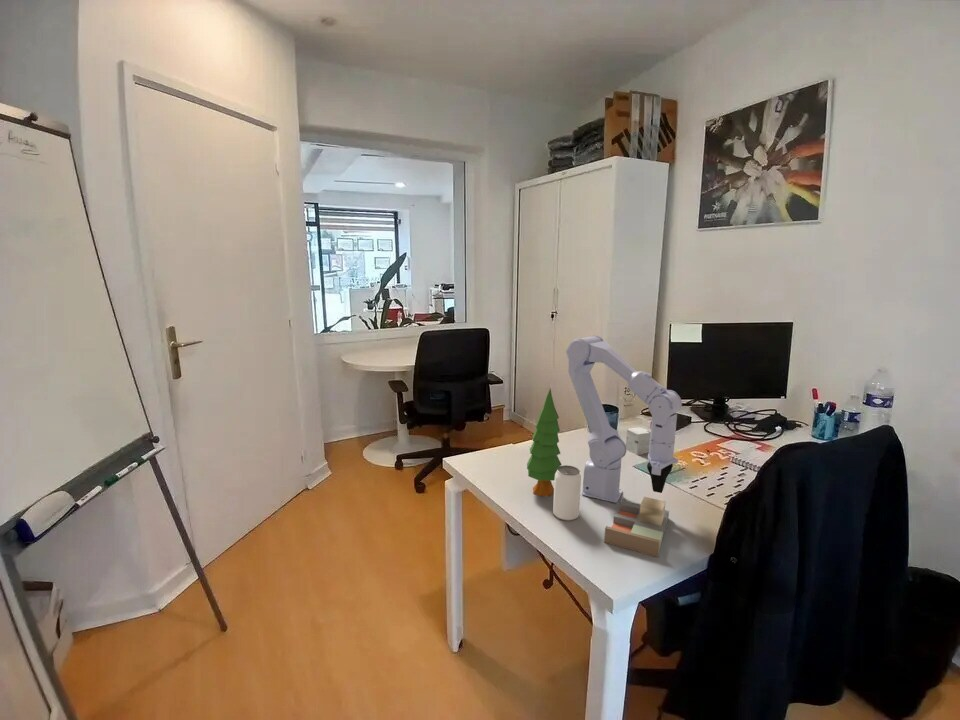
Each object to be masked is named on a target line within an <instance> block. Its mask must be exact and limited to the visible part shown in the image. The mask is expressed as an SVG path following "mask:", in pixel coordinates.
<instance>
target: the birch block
mask: <svg viewBox="0 0 960 720" xmlns="http://www.w3.org/2000/svg"><path fill="white" fill-rule="evenodd" d="M666 503H667V501H666V500H665V501H664V500H662V499H658V498H653V497H647V496H643V498H642V501H641V503H640V504H641V505H640V515H639V521H643V522H647V523H651V524H655V525H659V526H661V525H662V522H663V518H664V512H665V510H666V509H665V508H666Z"/></svg>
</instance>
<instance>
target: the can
mask: <svg viewBox="0 0 960 720" xmlns="http://www.w3.org/2000/svg"><path fill="white" fill-rule="evenodd" d="M580 472H581V471H580V469H579V468H577V467H576V466H573V465H567V464H566V465H561V466H559V467H558V468H557V471H556V473H555V480H553V481H554V482H553V488H554V493H553V504H552V505H553V506H552V507H553V508H552V513H553V515H554V516H555V517H556V518H557V519H559V520H563V521H566V522H567V521H573V520H576V519H578V517H579V514H580V506H581V505H580V503H581V486H582V484H581V483H582V475H581V474H580Z"/></svg>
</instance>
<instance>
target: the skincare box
mask: <svg viewBox="0 0 960 720" xmlns="http://www.w3.org/2000/svg"><path fill="white" fill-rule="evenodd" d="M650 433H651V430H648V429H646V428H643V427H641V426H638V427H631V428H627V429H626V437H625V444H626V448H627V451H629V452H631V453H633V454H634V455H642V454H649V445H650Z"/></svg>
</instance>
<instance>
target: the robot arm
mask: <svg viewBox="0 0 960 720" xmlns="http://www.w3.org/2000/svg"><path fill="white" fill-rule="evenodd" d="M565 353H566V355H567V358H568V374H569V379H570V380H571V383H572V386H573V388H574V391H575V394H576V397H577V398H578V402H579V404H580V408H581V409H582V413H583V414H584V418H585V420H586V423H587V426H588V428H589V432H590V434H589V437H588V441H587V444H588V446H589V447H588V448H589V452H588V453H589V458H590V459H587V460H586V463H585V464H584V469H583V479H582V492H581V495H583V496H585V497H591V498H593V499H594V498H595V499H598V500H603V501H607V502H610V503H618V501H619V499H620V497H621V495H622V494H623V491H624V490H623V489H622V488H620V483H621V472H622V458H624V457H625V456H626V454H627V451H628V450H627V448H626V441H624V440H623V438H621V436H620V435H619V432H618V430H616V429H615V428H613V427H612V426H611V425H610V422H609V419H608V417H607V414H606V412H605V408H604V406H603V404H602V401H601V398H600V396H599V393H598V390H597V388H596V385H595V383H594V380H593V377H592V374H591V371H592V369H593V367H594V365H595V363H601V364H604V365H605V366H607V367H608V368H609V369H611V370H612V371H613V372H615V373H616V374H617V375H619V376H620V377H621V378H622V379H624V380H625V381H626V383H627V387H628V390H630V391H631V392H632V393H633V394H634V395H636V396H637V398H639V399H640V400H641V401H643V403H645V404H646V405H647V406H648V410H649V413H650V414H651V424H650V432H651V433H650V445H649V453H647V460H648V462H647V464H646V469H647V471H648V473H649V476H650V480H651V487H652V488H651V489H652V491H653V492H655V493H660V494H661V493H663V492H664V491H663V490H664V489H665V488H664V487H665V485H666V482H667V477H669V475H670V474H671V472H672V469H673V467H674V465H673V464H678V463H679V458H676V457H674V452H675V444H676V443H675V442H676V434H677V433H676V430H677V419H678V412H679V411H680V410H681V409H682V407H683V402H682V398H681V397H680V395H679V394H678V393H677V392H676V391H674V390H672V389H667V387H666V386H664V385H663V386H662V385H661V384H660V383H659V382H658V381H656V380H655V379H654V377H653V375H652V374H651V373H650V372H646V371H643V370H640V371H637V370H636V369H635V368H634V367H633V366H631V364H629V363H628V362H627V361H626V360H625V359H624V358H623V357H622V356H621V355H620V354H618V352H616V351H615V349H613V348H612V347H611V345H610V343H609V342H608V341H606V340H604V339H603V337H601V336H599V335H595V334H594V335H590V336H587V337H582V338H581V337H576V338H574V339H572V340H571V341H570V343H569V344H568V346H567V349H566V350H565ZM652 377H653V378H652Z"/></svg>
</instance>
